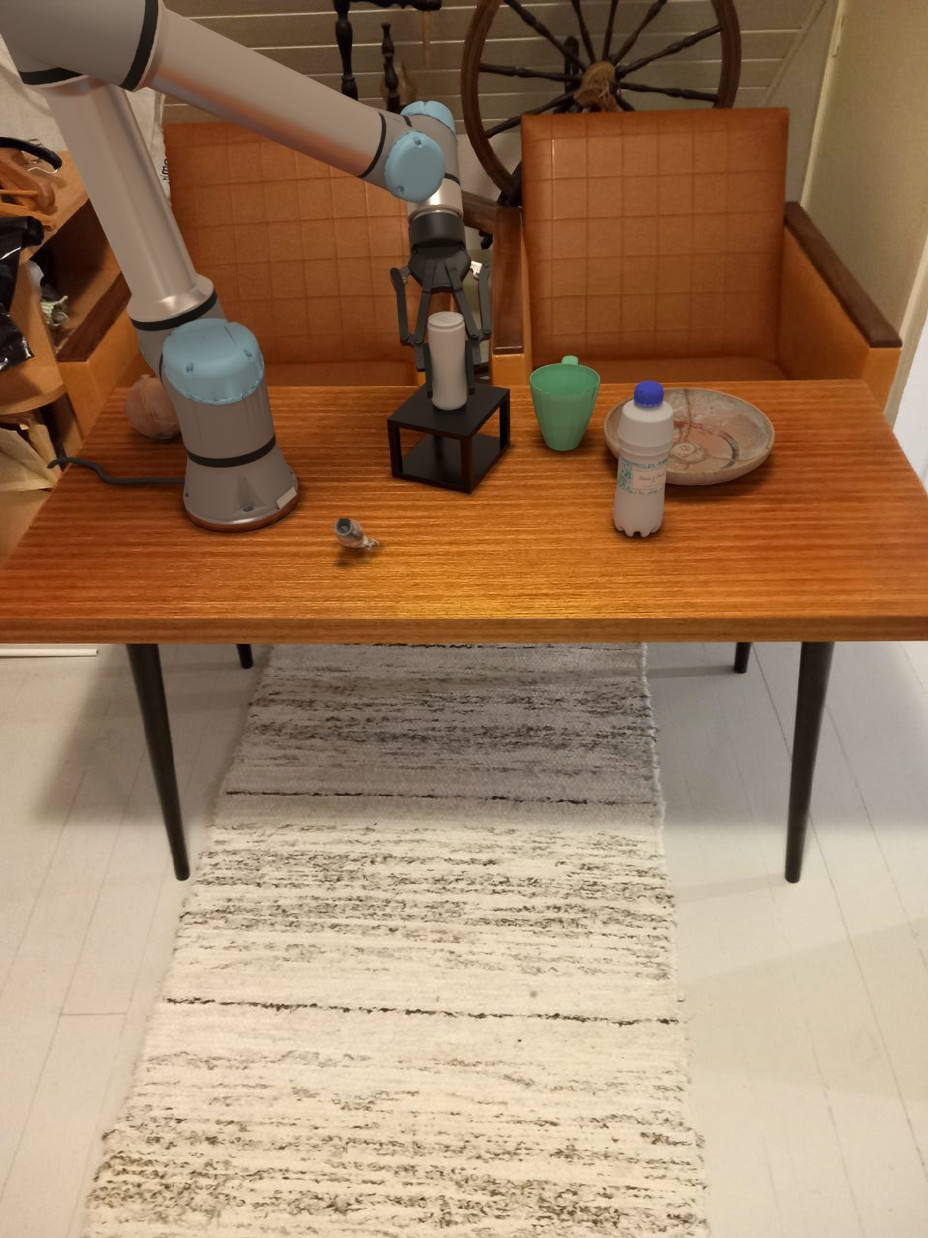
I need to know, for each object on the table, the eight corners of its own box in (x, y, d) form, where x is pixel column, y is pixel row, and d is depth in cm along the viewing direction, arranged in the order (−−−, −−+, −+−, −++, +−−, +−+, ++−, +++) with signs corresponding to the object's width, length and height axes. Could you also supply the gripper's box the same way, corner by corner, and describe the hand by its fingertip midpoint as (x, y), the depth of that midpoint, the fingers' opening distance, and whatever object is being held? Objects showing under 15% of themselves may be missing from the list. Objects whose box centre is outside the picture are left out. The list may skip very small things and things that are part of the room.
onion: (153, 443, 153) (127, 380, 150) (209, 425, 151) (183, 361, 149) (130, 453, 144) (102, 386, 141) (188, 434, 143) (161, 366, 140)
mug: (594, 461, 139) (598, 396, 132) (525, 457, 140) (525, 393, 134) (600, 411, 150) (604, 349, 143) (536, 408, 151) (537, 347, 145)
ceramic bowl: (566, 452, 141) (567, 421, 138) (682, 401, 151) (685, 371, 148) (686, 523, 126) (691, 490, 123) (805, 462, 137) (812, 430, 133)
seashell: (361, 570, 121) (355, 530, 117) (322, 561, 123) (316, 521, 119) (381, 546, 125) (376, 506, 121) (343, 537, 126) (338, 498, 123)
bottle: (622, 546, 123) (634, 400, 110) (602, 517, 128) (612, 374, 115) (671, 536, 124) (690, 391, 111) (650, 508, 129) (665, 366, 116)
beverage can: (447, 391, 137) (443, 307, 129) (474, 401, 135) (472, 316, 127) (424, 404, 134) (419, 320, 126) (451, 415, 132) (448, 329, 124)
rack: (391, 476, 137) (386, 418, 132) (436, 430, 147) (433, 374, 141) (470, 494, 133) (468, 435, 127) (510, 445, 143) (510, 388, 137)
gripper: (500, 232, 135) (516, 397, 133) (370, 241, 135) (384, 407, 133) (504, 204, 128) (521, 378, 126) (367, 213, 127) (381, 388, 125)
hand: (451, 392), depth 129 cm, fingers closed on beverage can, 5 cm apart
